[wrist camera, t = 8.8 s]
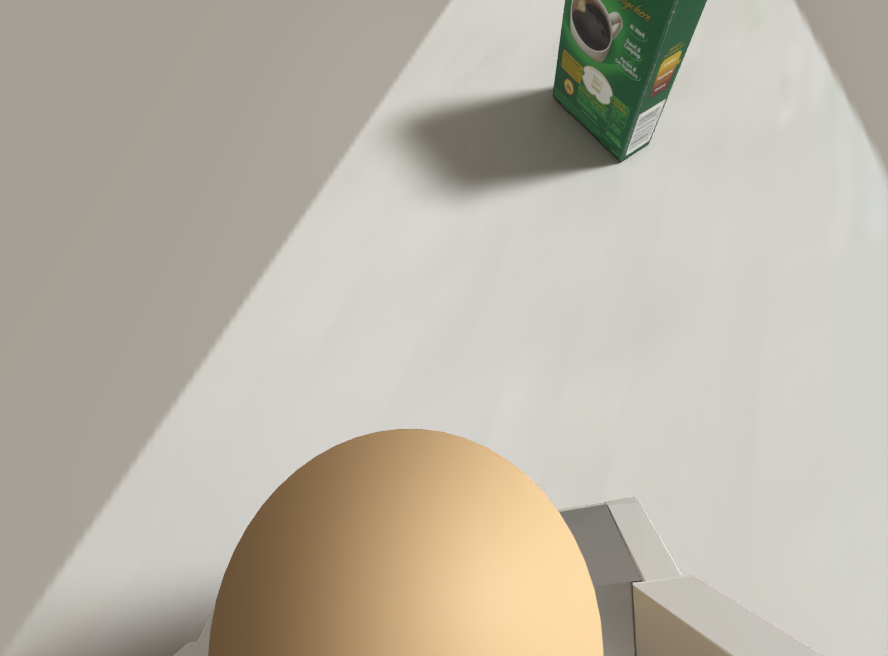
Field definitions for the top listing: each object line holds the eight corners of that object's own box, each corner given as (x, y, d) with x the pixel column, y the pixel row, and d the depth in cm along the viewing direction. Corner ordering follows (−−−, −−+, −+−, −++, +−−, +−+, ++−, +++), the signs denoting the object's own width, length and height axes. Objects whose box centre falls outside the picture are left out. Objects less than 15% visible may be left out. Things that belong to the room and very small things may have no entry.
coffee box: (656, 147, 34) (740, -70, 22) (621, 167, 34) (689, -43, 22) (582, 80, 37) (620, -141, 25) (550, 98, 37) (574, -119, 25)
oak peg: (553, 523, 14) (638, 455, 5) (532, 684, 12) (597, 1030, 3) (422, 492, 15) (279, 384, 6) (387, 641, 13) (117, 823, 4)
